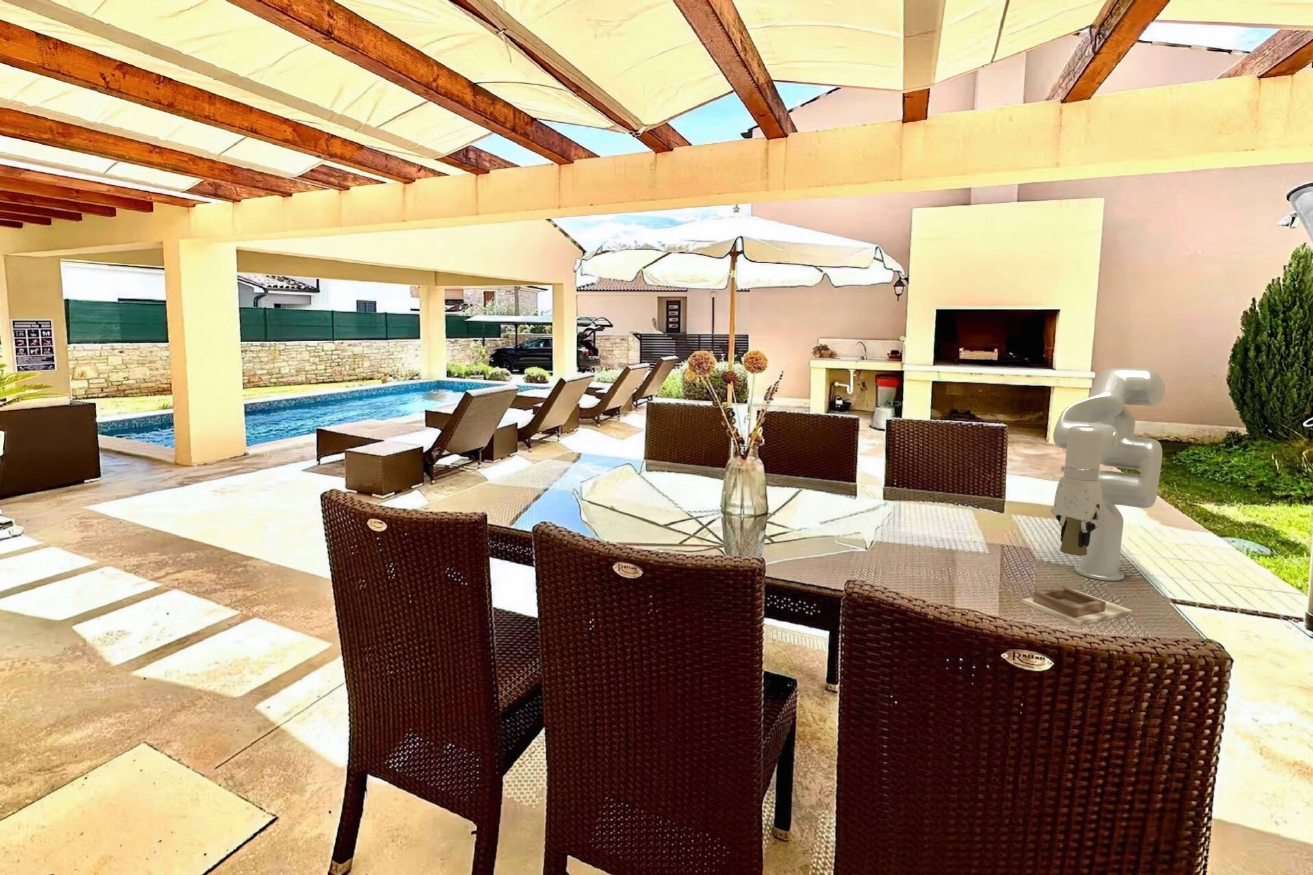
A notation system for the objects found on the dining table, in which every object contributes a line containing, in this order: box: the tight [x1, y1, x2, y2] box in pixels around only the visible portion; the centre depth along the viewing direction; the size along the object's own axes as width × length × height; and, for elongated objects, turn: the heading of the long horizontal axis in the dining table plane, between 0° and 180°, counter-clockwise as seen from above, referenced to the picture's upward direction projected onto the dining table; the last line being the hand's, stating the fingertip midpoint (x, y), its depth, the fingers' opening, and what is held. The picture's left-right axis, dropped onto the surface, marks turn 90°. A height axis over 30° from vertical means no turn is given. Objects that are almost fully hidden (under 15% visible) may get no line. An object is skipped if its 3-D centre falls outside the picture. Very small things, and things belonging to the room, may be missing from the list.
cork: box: [1059, 517, 1087, 557], centre depth 175 cm, size 6×6×11 cm
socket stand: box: [1021, 586, 1133, 627], centre depth 179 cm, size 20×16×4 cm
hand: (1074, 543), depth 175 cm, fingers closed on cork, 4 cm apart
